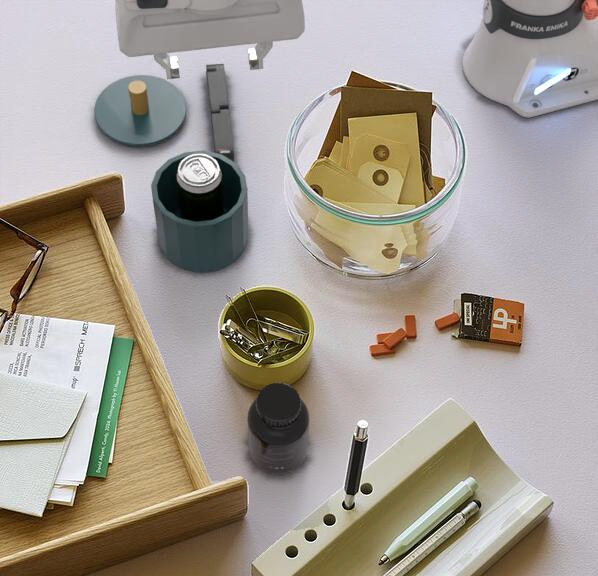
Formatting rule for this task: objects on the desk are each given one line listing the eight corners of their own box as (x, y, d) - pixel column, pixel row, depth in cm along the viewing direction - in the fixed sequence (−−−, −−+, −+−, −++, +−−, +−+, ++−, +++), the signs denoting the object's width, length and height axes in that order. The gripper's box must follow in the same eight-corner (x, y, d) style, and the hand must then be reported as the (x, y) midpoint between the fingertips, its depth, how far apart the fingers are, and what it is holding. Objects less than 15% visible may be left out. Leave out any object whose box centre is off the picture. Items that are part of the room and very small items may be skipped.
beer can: (233, 236, 134) (230, 173, 123) (199, 256, 132) (193, 195, 122) (208, 209, 136) (203, 145, 125) (174, 229, 134) (166, 166, 124)
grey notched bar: (206, 76, 147) (205, 59, 144) (224, 74, 147) (223, 58, 144) (216, 175, 139) (215, 160, 136) (235, 174, 139) (235, 159, 137)
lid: (92, 85, 145) (87, 57, 141) (181, 77, 147) (179, 48, 142) (98, 153, 140) (93, 126, 135) (191, 144, 141) (189, 117, 137)
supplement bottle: (249, 422, 123) (248, 371, 112) (308, 424, 123) (312, 373, 112) (246, 475, 120) (245, 428, 109) (306, 478, 120) (310, 431, 109)
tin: (154, 205, 136) (147, 155, 128) (241, 196, 138) (240, 146, 129) (163, 277, 132) (156, 230, 123) (253, 267, 133) (252, 220, 124)
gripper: (302, -65, 108) (300, 40, 121) (104, -45, 107) (122, 59, 119) (312, -22, 105) (309, 80, 118) (109, -1, 104) (128, 101, 116)
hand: (214, 70), depth 118 cm, fingers open, 8 cm apart
